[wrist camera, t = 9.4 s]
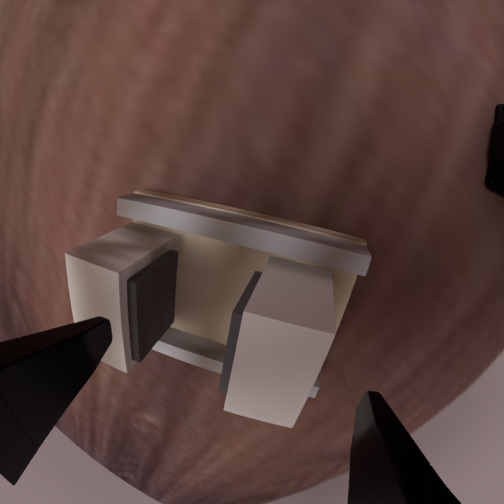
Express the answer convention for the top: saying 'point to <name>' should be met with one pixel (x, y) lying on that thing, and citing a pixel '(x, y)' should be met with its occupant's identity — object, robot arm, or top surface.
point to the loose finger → (278, 341)
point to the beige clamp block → (193, 274)
